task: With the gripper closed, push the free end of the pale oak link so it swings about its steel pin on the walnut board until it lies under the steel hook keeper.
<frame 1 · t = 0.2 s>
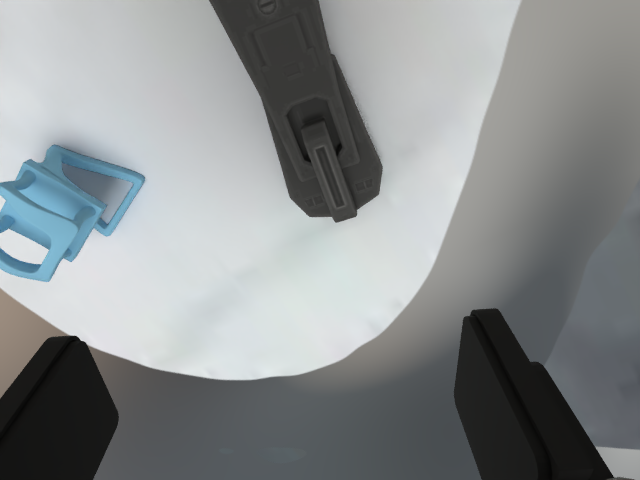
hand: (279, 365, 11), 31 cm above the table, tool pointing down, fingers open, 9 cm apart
chair: (89, 181, 41), on the table
zipper pull: (301, 79, 37), on the table
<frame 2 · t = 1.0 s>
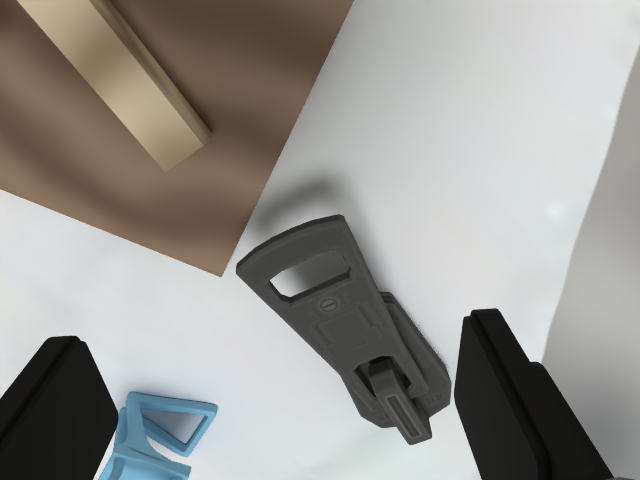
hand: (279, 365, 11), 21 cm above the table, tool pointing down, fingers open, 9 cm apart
chair: (166, 413, 42), on the table
zipper pull: (359, 313, 37), on the table
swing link: (75, 12, 23), point 3 cm above the table, hinge at 0.0°
walnut board: (113, 63, 27), on the table
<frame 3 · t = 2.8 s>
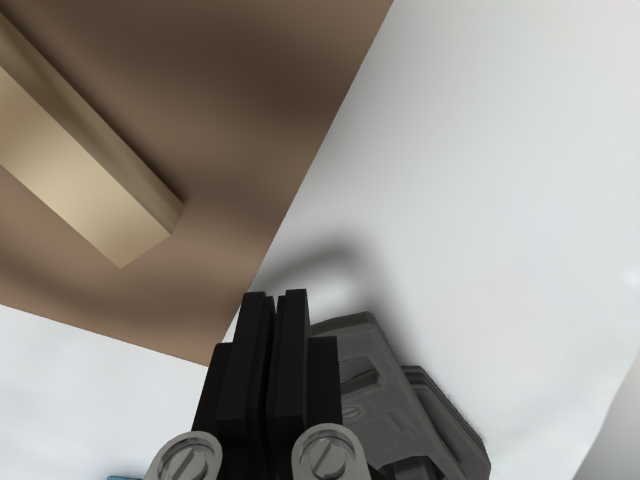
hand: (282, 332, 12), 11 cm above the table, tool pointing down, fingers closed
zipper pull: (380, 387, 30), on the table
walnut board: (42, 112, 19), on the table
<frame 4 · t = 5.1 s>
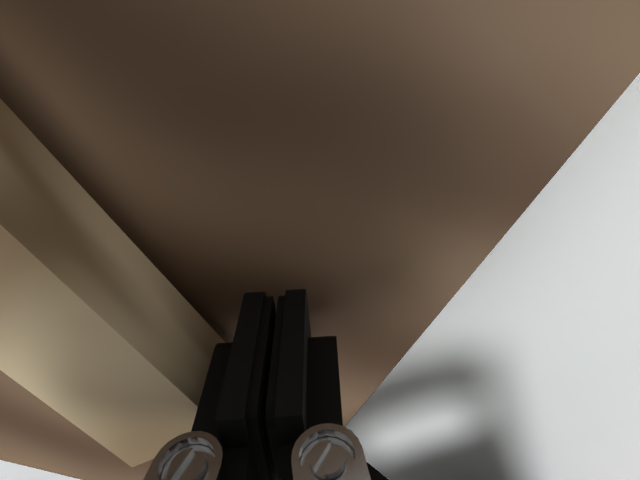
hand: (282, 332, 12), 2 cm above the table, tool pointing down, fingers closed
walnut board: (43, 192, 12), on the table
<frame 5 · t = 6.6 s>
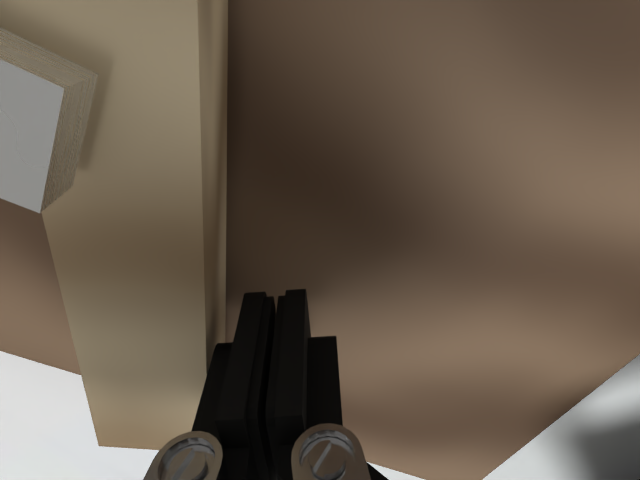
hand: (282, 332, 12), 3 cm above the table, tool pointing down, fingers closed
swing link: (137, 109, 8), point 3 cm above the table, hinge at 39.8°, touching gripper
walnut board: (354, 144, 12), on the table
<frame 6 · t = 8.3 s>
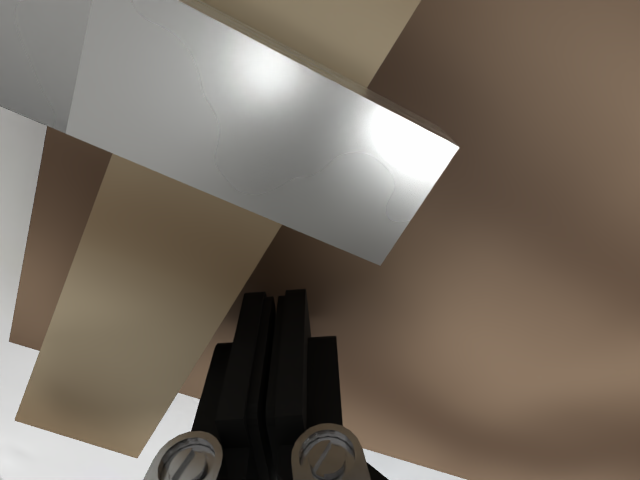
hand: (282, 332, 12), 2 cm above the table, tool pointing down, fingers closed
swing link: (246, 103, 8), point 3 cm above the table, hinge at 64.6°, touching gripper
walnut board: (531, 174, 12), on the table
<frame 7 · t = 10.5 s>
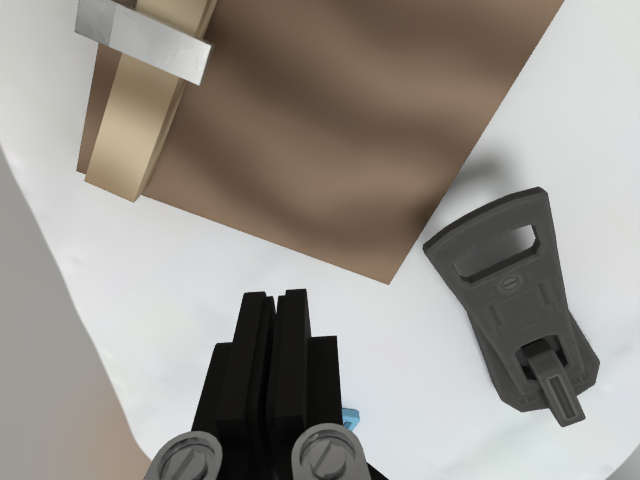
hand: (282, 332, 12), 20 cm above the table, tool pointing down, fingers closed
zipper pull: (504, 294, 36), on the table
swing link: (164, 45, 23), point 3 cm above the table, hinge at 64.7°
walnut board: (304, 81, 27), on the table
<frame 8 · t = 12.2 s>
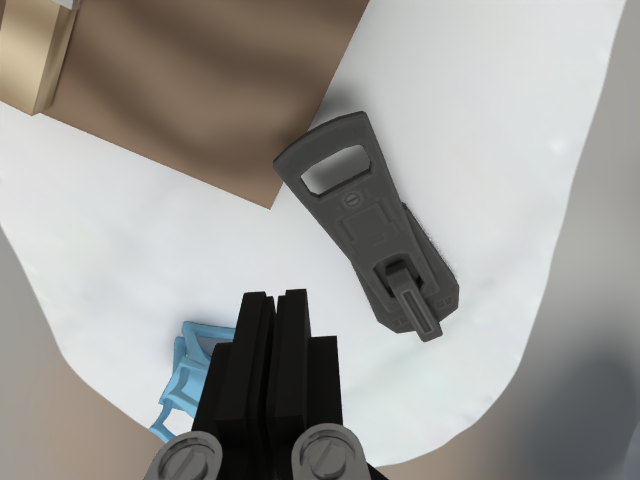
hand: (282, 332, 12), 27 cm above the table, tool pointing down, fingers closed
chair: (214, 342, 48), on the table
zipper pull: (376, 224, 41), on the table
walnut board: (183, 21, 32), on the table
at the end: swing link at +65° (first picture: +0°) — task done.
